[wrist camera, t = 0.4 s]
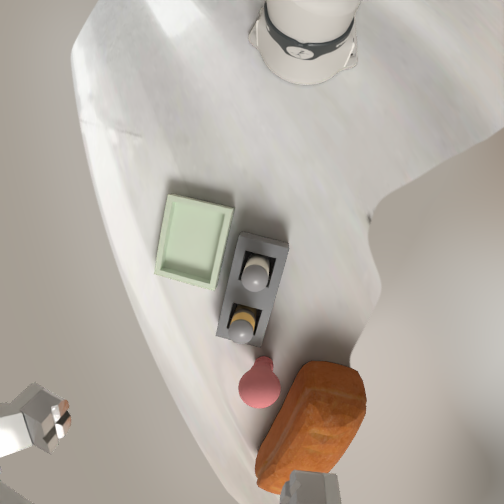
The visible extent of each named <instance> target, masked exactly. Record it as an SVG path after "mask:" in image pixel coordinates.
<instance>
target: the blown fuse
mask: <svg viewBox="0 0 504 504" xmlns="http://www.w3.org/2000/svg"><path fill="white" fill-rule="evenodd" d="M256 314H257V309H256V308H252V307H248V306H245V305H241V304H237V306H236V309H235V312H234V314H233V317H232V321H231V324H230V327H229V330H228V335H229V337H230V339H231V340H232V341H233V342H235V343H238V344H245V343H247V342H249V341H250V340H251V339H252V337H253V332H254V326H255V321H256Z"/></svg>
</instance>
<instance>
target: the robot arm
mask: <svg viewBox="0 0 504 504" xmlns="http://www.w3.org/2000/svg"><path fill="white" fill-rule="evenodd" d="M360 3H361V0H265V5H264V8H261V9H260V11H259V14H260V17H259V18H258V20H257V21H256V23H255V25H254V27H253V28H252V30H251V32H250V34H249V37H248V40H249V42H250V43H251V44H252V45H253V46H254V47H255V48H256V49H258V50H259V52H260V54H261V56H262V58H263V60H264V62H265V64H266V65H267V67H268V68H269V69H270V70H271V71H272V72H273V73H274V74H276V75H277V76H278V77H280V78H282V79H284V80H286V81H288V82H291V83H295V84H302V85H312V84H318V83H321V82H324V81H326V80H328V79H330V78H332V77H333V76H334V75H336V74H337V73H338V72H340V71H342V70H346V69H350V68H353V67H355V66H356V64H357V61H358V57H357V36H356V21H355V13H356V11H357V9H358V7H359V5H360ZM351 54H352V56H351ZM68 408H69V404H68V401H67V400H65V399H63V398H61V397H60V396H58V395H56V394H54V393H52V392H51V391H49V390H48V389H46V388H44V387H42V386H41V385H39V384H37V383H32V384H30V385H29V386H28V387H27V388H26V389H25V390H24V391H23V392H22V393H21V394H19V395H18V396H17V397H16V398H15V399H14V400H13V401H12V402H11V403H10V404H9V403H7V402H5V403H0V457H3V456H6V455H8V454H11V453H14V452H17V451H19V450H22V449H25V448H27V447H30V446H32V445H35V446H37V447H38V448H40V449H42V450H44V451H45V452H47V453H49V454H51V453H52V452H53V451H54V450H55V448H56V447H57V446H58V445H59V439H58V438H61V437H64V436H65V435H66V434H67V433H68V431H69V428H70V426H71V416H70V414H69V413H68V411H67V409H68ZM1 472H2V469H1V467H0V473H1ZM0 504H34V503H32V502H31V501H29V500H28V499H26V498H25V497H23V496H22V495H20V494H19V493H17V492H15V490H13V489H11V488H10V487H9V486H7V485H6V484H5V483H3V482H2V481H1V480H0ZM280 504H341V498H340V491H339V484H338V478H337V475H336V474H333V473H321V472H312V471H301V470H293V471H292V472H291V474H290V480H289V481H286V482H285V484H284V485H283V488H282V491H281V494H280Z"/></svg>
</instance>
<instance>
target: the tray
mask: <svg viewBox="0 0 504 504" xmlns="http://www.w3.org/2000/svg"><path fill="white" fill-rule="evenodd" d="M234 210H235V208H232V207H228V206H224V205H220V204H216V203H212V202H207V201H203V200H199V199H195V198H190V197H186V196H182V195H177V194H168V196H167V201H166V206H165V212H164V217H163V222H162V228H161V234H160V240H159V246H158V252H157V258H156V265H155V271H154V274H156V275H159V276H163V277H166V278H170V279H173V280H177V281H180V282H184V283H187V284H191V285H194V286H198V287H202V288H205V289H209V290H213V291H215V289H216V287H217V284H218V280H219V275H220V271H221V266H222V262H223V258H224V253H225V249H226V244H227V240H228V236H229V231H230V227H231V223H232V218H233V214H234Z"/></svg>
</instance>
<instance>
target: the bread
mask: <svg viewBox="0 0 504 504" xmlns="http://www.w3.org/2000/svg"><path fill="white" fill-rule="evenodd" d="M366 401H367V400H366V394H365V388H364V384H363V380H362V379H361V377H360V375H359V373H358V371H356V370H354V369H352V368H350V367H346V366H343V365H340V364H336V363H331V362H327V361H310V362H308V363H307V364H305V365H303V367H302V368H301V369H300V371H299V372H298V374H297V376H296V378H295V380H294V382H293V384H292V386H291V388H290V390H289V392H288V394H287V397H286V399H285V401H284V403H283V406H282V408H281V409H280V411H279V413H278V415H277V417H276V419H275V420H274V422H273V424H272V426H271V428H270V430H269V432H268V434H267V436H266V438H265V440H264V441H263V443H262V445H261V447H260V449H259V451H258V454H257V458H256V464H255V474H256V477H257V478H258V480H257V485H258V487H260V488H262V489H264V490H266V491H268V492H271V493H275V494H281V491H282V488H283V485H284V484H285V482H286V481H289V480H290V474H291V472H292V471H293V470H301V471H312V472H321V473H328V472H329V471H330V470H331V469H332V468H333V467H334V466H335V464H336V463H337V462H338V461H339V460H340V458H341V457H342V455H343V454H344V453H345V451H346V449H347V448H348V446H349V445H350V443H351V442H352V440H353V438H354V437H355V435H356V433H357V431H358V429H359V427H360V425H361V423H362V421H363V419H364V416H365V414H366Z"/></svg>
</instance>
